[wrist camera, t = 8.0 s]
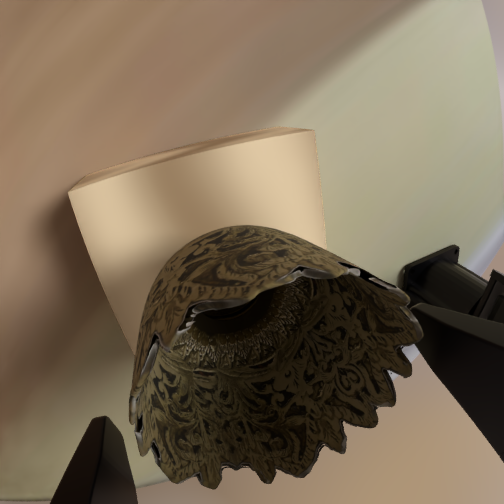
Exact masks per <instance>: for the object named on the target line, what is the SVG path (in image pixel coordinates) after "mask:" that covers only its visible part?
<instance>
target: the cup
mask: <svg viewBox="0 0 504 504" xmlns="http://www.w3.org/2000/svg"><path fill="white" fill-rule="evenodd" d="M409 303H410V298H409V296H408V295H407V294H406V293H404V292H403V291H402V290H401V289H399V288H398V287H396V286H394V285H392V284H390V283H387V282H385V281H383V280H381V279H379V278H377V277H375V276H374V275H372V274H370V273H369V272H367V271H365V270H363V269H361V268H360V267H358V266H356V265H354V264H352V263H350V262H348V261H346V260H345V259H343V258H341V257H339V256H337V255H335V254H333V253H331V252H329V251H327V250H325V249H323V248H321V247H319V246H317V245H315V244H313V243H311V242H309V241H307V240H304V239H302V238H300V237H298V236H295V235H293V234H290V233H287V232H284V231H281V230H278V229H274V228H269V227H264V226H255V225H236V226H230V227H224V228H220V229H217V230H213V231H211V232H208V233H206V234H203V235H201V236H199V237H198V238H196V239H194V240H192V241H191V242H189V243H188V244H186V245H185V246H183V247H182V248H181V249H180V250H178V251H177V252H176V253H175V254H174V255H173V256H172V257H171V258H170V259H169V260H168V261H167V262H166V264H165V265H164V266H163V268H162V269H161V270H160V272H159V274H158V276H157V277H156V279H155V281H154V283H153V285H152V287H151V289H150V291H149V294H148V297H147V300H146V303H145V306H144V310H143V314H142V318H141V323H140V328H139V334H138V340H137V347H136V354H135V362H134V371H133V380H132V389H131V392H130V399H129V421H130V424H131V425H133V424H134V423H135V430H134V432H135V435H136V439H137V444H138V448H139V452H140V455H141V456H142V457H143V456H145V455H146V454H147V453H148V451H149V449H150V448H151V450H152V452H153V454H154V458H155V462H156V464H157V465H158V466H159V467H160V469H161V470H162V471H163V472H164V473H165V475H166V476H167V477H168V478H169V479H170V481H171V482H173V483H176V484H179V483H182V482H184V481H185V480H187V479H189V478H191V477H196V476H197V478H198V480H199V482H200V484H201V485H203V486H205V487H207V488H211V489H216V488H217V487H218V485H219V483H220V481H221V480H222V475H221V474H222V470H223V469H224V468H227V467H224V468H222V466H229V467H228V468H232V469H234V470H239V469H240V468H246V467H243V466H249V468H251V469H252V470H253V471H255V472H256V473H257V475H258V476H259V478H260V479H261V481H263V482H264V483H266V484H271V483H272V481H273V480H274V477H275V475H276V469H278V470H281V471H282V472H284V473H286V474H290V475H293V476H294V477H297V478H304V477H305V476H306V475H307V474H309V473H310V471H311V470H312V467H313V465H314V464H315V462H316V461H317V458H318V456H319V452H320V451H321V449H322V448H323V447H324V446H327V447H328V448H329V449H331V450H334V451H336V452H339V453H340V454H344V453H345V451H346V441H347V436H346V435H345V433H344V427H343V421H345V422H346V423H348V424H350V425H353V426H355V427H357V426H359V427H364V428H374V427H376V425H377V424H378V416H377V413H376V409H377V408H378V407H377V406H379V407H387V406H388V407H393V406H394V405H395V403H396V392H395V388H394V385H393V382H392V379H391V377H390V375H389V373H388V371H387V370H390V371H392V372H394V373H396V374H398V375H401V376H403V377H404V378H407V377H410V376H411V375H412V364H411V363H410V361H409V360H408V359H407V357H406V356H405V355H404V353H403V352H402V348H403V347H405V346H410V345H412V344H414V343H416V342H418V341H420V340H421V338H422V337H423V331H422V328H421V326H420V324H419V322H418V320H417V319H416V317H415V316H414V315H413V314H412V312H411V311H410V310H409V309H408V308H407V307H406V306H407V305H408V304H409ZM401 346H403V347H402V348H401ZM391 374H392V373H391ZM323 444H325V445H323ZM319 448H320V449H319ZM318 450H319V451H318ZM317 452H318V453H317ZM221 468H222V469H221Z"/></svg>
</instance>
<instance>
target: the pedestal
mask: <svg viewBox="0 0 504 504" xmlns="http://www.w3.org/2000/svg"><path fill="white" fill-rule="evenodd" d="M68 195H69V198H70V201H71V204H72V207H73V210H74V213H75V216H76V219H77V222H78V225H79V228H80V231H81V234H82V237H83V239H84V242H85V245H86V247H87V250H88V253H89V255H90V258H91V260H92V263H93V266H94V268H95V271H96V273H97V275H98V278H99V280H100V283H101V285H102V287H103V290H104V292H105V294H106V297H107V299H108V301H109V304H110V306H111V308H112V310H113V312H114V315H115V317H116V319H117V321H118V323H119V325H120V327H121V329H122V331H123V334H124V336H125V338H126V340H127V342H128V344H129V346H130V348H131V350H132V352H133V353H134V355H135V354H136V347H137V340H138V334H139V328H140V323H141V318H142V314H143V310H144V306H145V303H146V300H147V297H148V294H149V291H150V289H151V287H152V285H153V283H154V281H155V279H156V277H157V276H158V274H159V272H160V270H161V269H162V268H163V266H164V265H165V264H166V262H167V261H168V260H169V259H170V258H171V257H172V256H173V255H174V254H175V253H176V252H177V251H178V250H180V249H181V248H182V247H183V246H185V245H186V244H188V243H189V242H191V241H192V240H194V239H196V238H198V237H199V236H201V235H203V234H206V233H208V232H211V231H213V230H217V229H220V228H224V227H230V226H236V225H255V226H264V227H269V228H274V229H278V230H281V231H284V232H287V233H290V234H293V235H295V236H298V237H300V238H302V239H304V240H307V241H309V242H311V243H313V244H315V245H317V246H319V247H321V248H323V249H325V250H327V248H326V235H325V223H324V211H323V201H322V191H321V181H320V172H319V163H318V155H317V147H316V139H315V132H314V130H309V129H299V128H289V127H272V128H267V129H261V130H256V131H251V132H246V133H241V134H236V135H231V136H226V137H221V138H217V139H212V140H208V141H204V142H199V143H195V144H191V145H187V146H183V147H179V148H175V149H171V150H168V151H164V152H160V153H156V154H153V155H149V156H146V157H142V158H139V159H135V160H132V161H129V162H125V163H122V164H119V165H116V166H113V167H109V168H106V169H103V170H100V171H97V172H94V173H91V174H88V175H86V176H85V177H84V178H83V179H82V180H80V181H79V182H78V183H77V184H76V185H75V186H74V187H73V188H72V189H71V190H70V191H69V192H68Z"/></svg>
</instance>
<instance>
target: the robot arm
mask: <svg viewBox="0 0 504 504" xmlns="http://www.w3.org/2000/svg"><path fill="white" fill-rule="evenodd" d="M458 257H459V247H458V246H456V245H452V246H450V247H447V248H445V249H443V250H441V251H439V252H436V253H434V254H432V255H430V256H427V257H425V258H423V259H420V260H418V261H416V262H413V263H411V264H409V265H408V266H407V267H406V269H405V273H404V285H403V292H404V293H406V294H407V295H408V296H409V298H410V303H409V304H408V305H407V306H406V307H407V308H408V309H409V310H410V311H411V312H412V314H413V315H414V316H415V317H416V319H417V320H418V322H419V324H420V326H421V328H422V331H423V337H422V338H421V340H420V341H418V342H416V343H414V344H415V346H416V347H417V349H418V350H419V351H420V353H421V354H422V356H423V357H424V359H425V360H426V362H427V364H428V365H429V366H430V368H431V369H432V371H433V372H434V373H435V374H436V376H437V377H438V378H439V379H440V381H441V382H442V383H443V384H444V385H445V387H446V388H447V389H448V390H449V391H450V393H451V394H452V395H453V397H454V398H455V399H456V400H457V402H458V403H459V404H460V405H461V407H462V408H463V409H464V410H465V412H466V413H467V414H468V416H469V417H470V418H471V419H472V421H473V422H474V423H475V425H476V426H477V427H478V428H479V430H480V431H481V432H482V434H483V435H484V436H485V438H486V439H487V440H488V442H489V443H490V444H491V446H492V447H493V448H494V450H495V451H496V452H497V454H498V455H499V456H500V458H501V460H502V461H503V462H504V274H503V273H500V272H498V271H496V270H494V269H493V270H492V272H491V275H490V276H491V277H490V280H489V282H488V281H487V280H485V279H483V278H482V277H480V276H478V275H477V274H475V273H474V272H472V271H470V270H469V269H467V268H465V267H463V266H462V265H460V264H458ZM50 504H138V501H137V495H136V489H135V484H134V480H133V476H132V473H131V469H130V465H129V461H128V457H127V452H126V448H125V444H124V439H123V436H122V434H121V432H120V431H119V430H118V428H117V427H116V426H115V425H114V423H113V422H112V421H111V420H110V418H109V417H107V416H101V417H96V418H93V419H92V420H91V422H90V424H89V426H88V428H87V430H86V432H85V434H84V435H83V437H82V439H81V441H80V443H79V445H78V447H77V449H76V451H75V453H74V455H73V457H72V459H71V461H70V463H69V465H68V467H67V469H66V471H65V473H64V475H63V477H62V479H61V481H60V483H59V485H58V487H57V490H56V492H55V494H54V496H53V498H52V500H51V502H50Z"/></svg>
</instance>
